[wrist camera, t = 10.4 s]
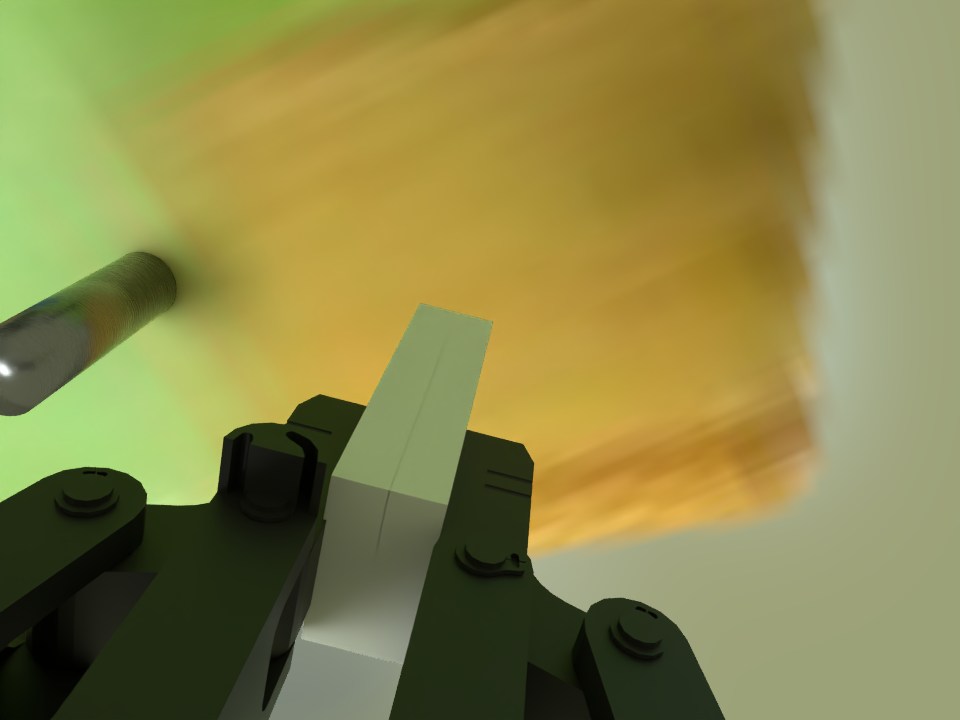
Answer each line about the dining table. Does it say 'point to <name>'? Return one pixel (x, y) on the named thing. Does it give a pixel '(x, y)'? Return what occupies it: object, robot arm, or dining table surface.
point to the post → (78, 328)
